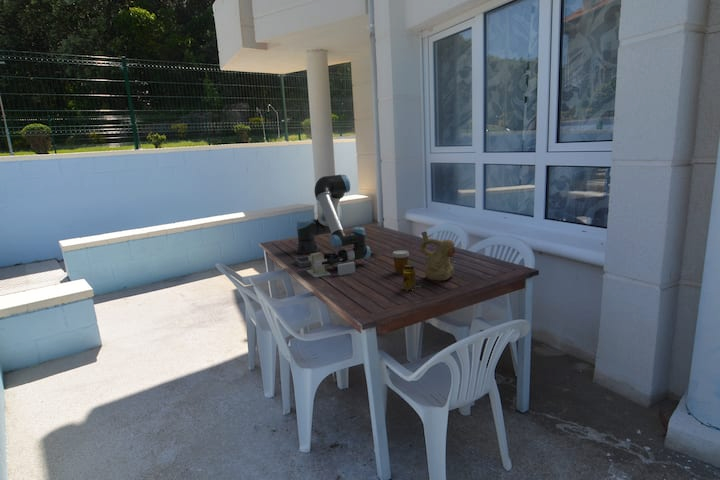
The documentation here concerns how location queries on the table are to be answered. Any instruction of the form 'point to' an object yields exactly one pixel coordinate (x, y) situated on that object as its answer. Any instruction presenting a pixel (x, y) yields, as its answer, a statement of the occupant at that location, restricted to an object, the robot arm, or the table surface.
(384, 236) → the table surface
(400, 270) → the disposable coffee cup
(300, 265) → the tray
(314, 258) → the birch block
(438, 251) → the ceramic vessel
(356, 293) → the table surface
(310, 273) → the pad
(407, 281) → the condiment
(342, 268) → the walled passage
